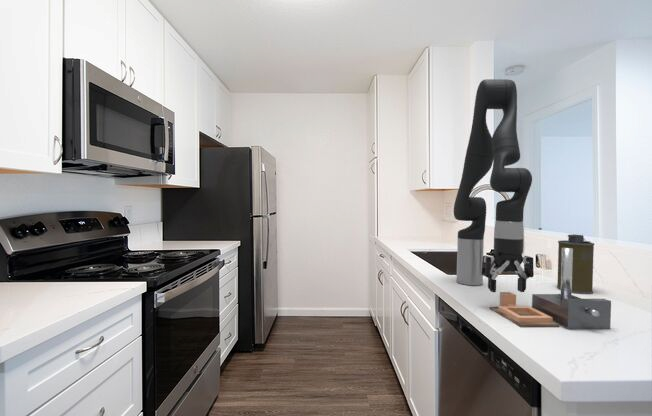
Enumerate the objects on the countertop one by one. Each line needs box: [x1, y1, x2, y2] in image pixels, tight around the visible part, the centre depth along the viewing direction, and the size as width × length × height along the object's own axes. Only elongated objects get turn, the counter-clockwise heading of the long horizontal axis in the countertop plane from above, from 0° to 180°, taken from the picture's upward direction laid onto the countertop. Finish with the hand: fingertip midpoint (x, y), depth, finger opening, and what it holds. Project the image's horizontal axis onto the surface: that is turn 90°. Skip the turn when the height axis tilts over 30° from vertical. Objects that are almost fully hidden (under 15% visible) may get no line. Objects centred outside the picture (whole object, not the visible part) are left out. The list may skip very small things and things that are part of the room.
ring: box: [497, 291, 553, 322], centre depth 89 cm, size 14×9×4 cm, turn 2°
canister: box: [556, 234, 595, 295], centre depth 117 cm, size 11×10×20 cm
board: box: [489, 306, 560, 328], centre depth 88 cm, size 14×10×1 cm
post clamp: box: [531, 248, 612, 330], centre depth 86 cm, size 15×11×19 cm
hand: (506, 291), depth 95 cm, fingers open, 8 cm apart
